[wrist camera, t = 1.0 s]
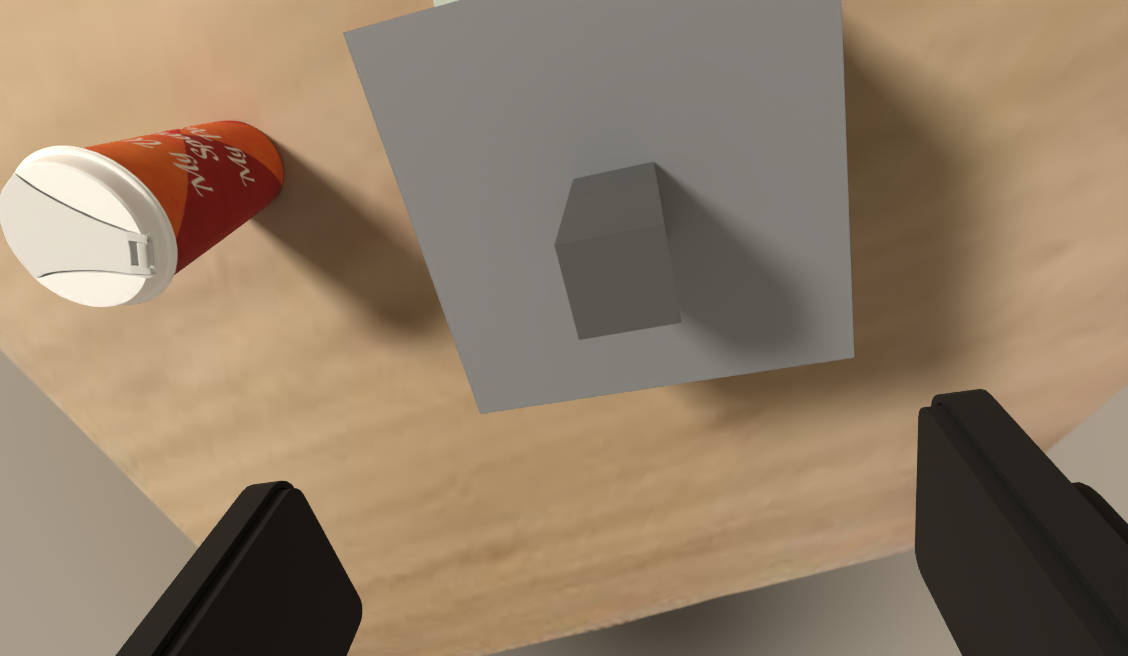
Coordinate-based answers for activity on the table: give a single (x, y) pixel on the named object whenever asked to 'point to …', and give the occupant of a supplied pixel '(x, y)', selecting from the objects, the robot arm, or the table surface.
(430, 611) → the table surface
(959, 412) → the robot arm
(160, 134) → the coffee cup
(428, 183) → the grey knobbed cube
